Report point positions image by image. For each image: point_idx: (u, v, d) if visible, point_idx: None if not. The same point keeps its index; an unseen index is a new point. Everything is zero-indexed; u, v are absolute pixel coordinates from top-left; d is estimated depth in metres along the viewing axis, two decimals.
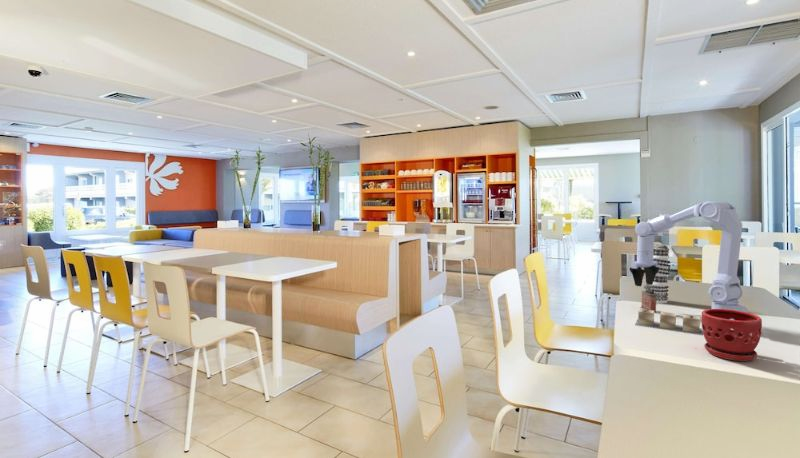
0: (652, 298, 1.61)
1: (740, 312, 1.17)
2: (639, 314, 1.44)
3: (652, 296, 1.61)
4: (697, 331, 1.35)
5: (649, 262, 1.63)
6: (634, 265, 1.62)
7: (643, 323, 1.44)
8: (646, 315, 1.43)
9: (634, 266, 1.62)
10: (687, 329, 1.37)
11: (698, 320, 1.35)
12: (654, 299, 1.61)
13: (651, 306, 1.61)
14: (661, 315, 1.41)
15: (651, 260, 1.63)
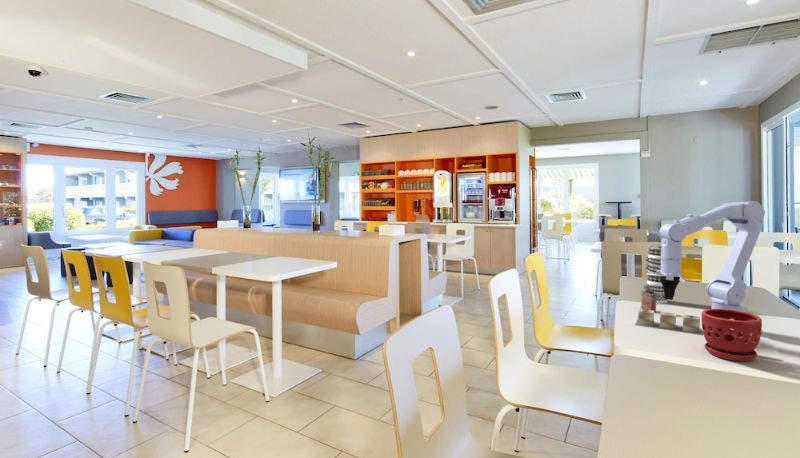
0: (652, 298, 1.61)
1: (740, 312, 1.17)
2: (639, 314, 1.44)
3: (652, 296, 1.61)
4: (697, 331, 1.35)
5: (679, 271, 1.38)
6: (670, 276, 1.34)
7: (643, 323, 1.44)
8: (646, 315, 1.43)
9: (670, 277, 1.34)
10: (687, 329, 1.37)
11: (698, 320, 1.35)
12: (654, 299, 1.61)
13: (651, 306, 1.61)
14: (661, 315, 1.41)
15: (680, 269, 1.39)
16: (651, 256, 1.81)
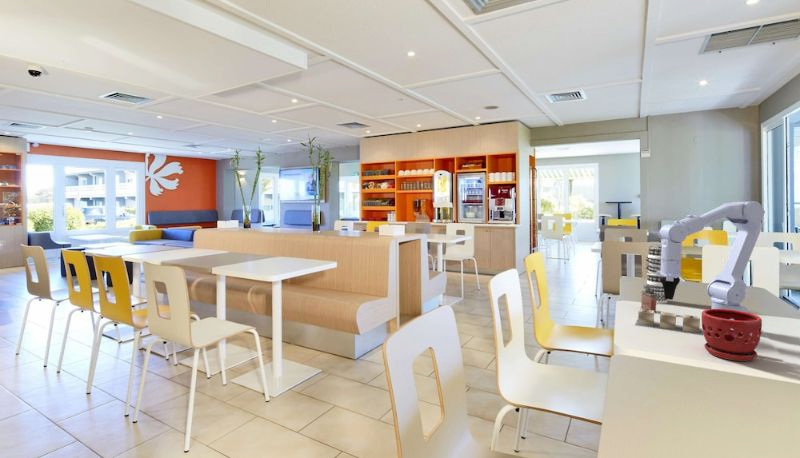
0: (652, 298, 1.61)
1: (740, 312, 1.17)
2: (639, 314, 1.44)
3: (652, 296, 1.61)
4: (697, 331, 1.35)
5: (679, 272, 1.38)
6: (670, 277, 1.34)
7: (643, 323, 1.44)
8: (646, 315, 1.43)
9: (670, 278, 1.34)
10: (687, 329, 1.37)
11: (698, 320, 1.35)
12: (654, 299, 1.61)
13: (651, 306, 1.61)
14: (661, 315, 1.41)
15: (680, 269, 1.39)
16: (651, 256, 1.81)
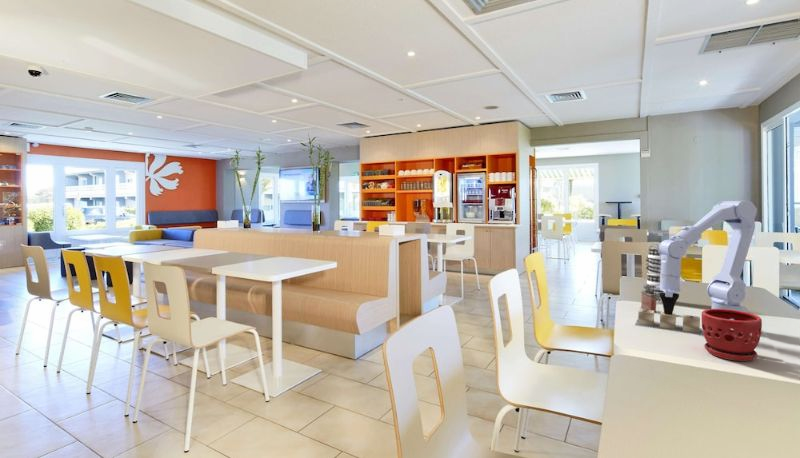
0: (652, 298, 1.61)
1: (740, 312, 1.17)
2: (639, 314, 1.44)
3: (652, 296, 1.61)
4: (697, 331, 1.35)
5: (678, 288, 1.38)
6: (669, 293, 1.35)
7: (643, 323, 1.44)
8: (646, 315, 1.43)
9: (669, 294, 1.35)
10: (687, 329, 1.37)
11: (698, 320, 1.35)
12: (654, 299, 1.61)
13: (651, 306, 1.61)
14: (661, 315, 1.41)
15: (679, 285, 1.39)
16: (651, 256, 1.81)
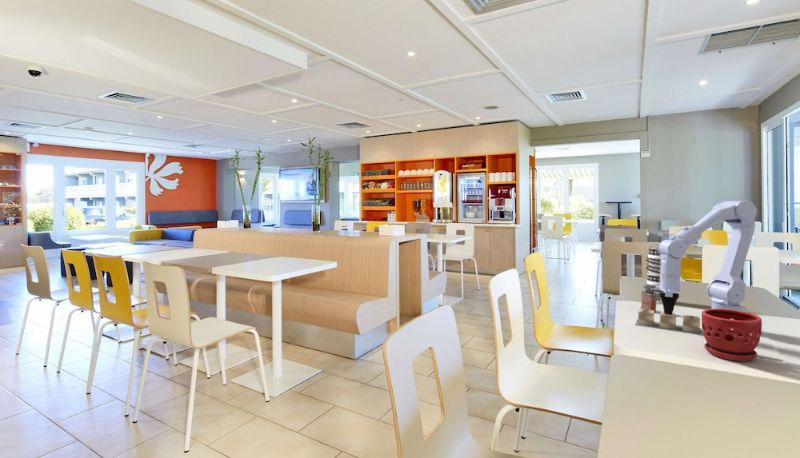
0: (652, 298, 1.61)
1: (740, 312, 1.17)
2: (639, 314, 1.44)
3: (652, 296, 1.61)
4: (697, 331, 1.35)
5: (678, 288, 1.38)
6: (669, 293, 1.35)
7: (643, 323, 1.44)
8: (646, 315, 1.43)
9: (669, 294, 1.35)
10: (687, 329, 1.37)
11: (698, 320, 1.35)
12: (654, 299, 1.61)
13: (651, 306, 1.61)
14: (661, 315, 1.41)
15: (679, 285, 1.39)
16: (651, 256, 1.81)
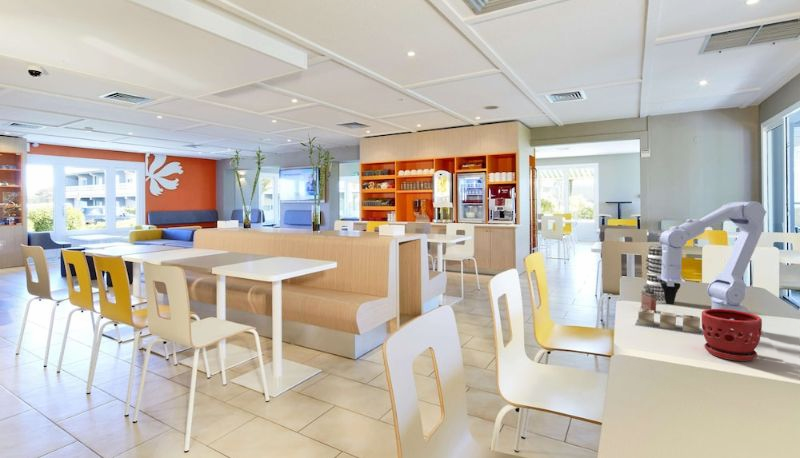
0: (652, 298, 1.61)
1: (740, 312, 1.17)
2: (639, 314, 1.44)
3: (652, 296, 1.61)
4: (697, 331, 1.35)
5: (679, 277, 1.39)
6: (671, 282, 1.36)
7: (643, 323, 1.44)
8: (646, 315, 1.43)
9: (671, 284, 1.36)
10: (687, 329, 1.37)
11: (698, 320, 1.35)
12: (654, 299, 1.61)
13: (651, 306, 1.61)
14: (661, 315, 1.41)
15: (680, 275, 1.40)
16: (651, 256, 1.81)
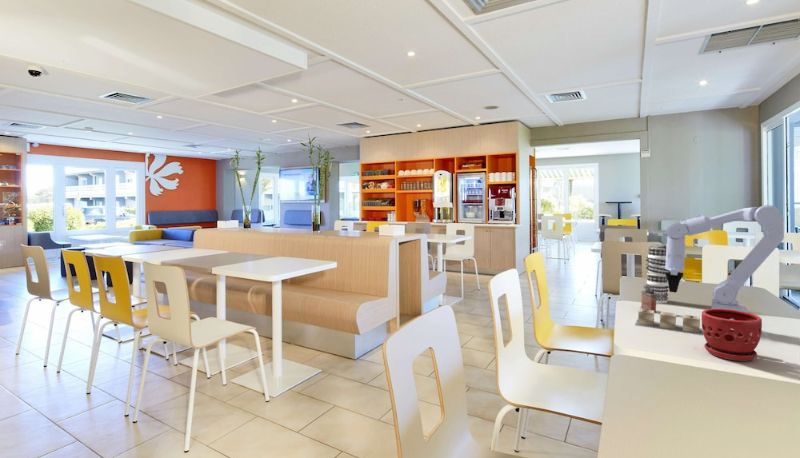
0: (652, 298, 1.61)
1: (740, 312, 1.17)
2: (639, 314, 1.44)
3: (652, 296, 1.61)
4: (697, 331, 1.35)
5: (682, 267, 1.48)
6: (674, 271, 1.45)
7: (643, 323, 1.44)
8: (646, 315, 1.43)
9: (674, 272, 1.45)
10: (687, 329, 1.37)
11: (698, 320, 1.35)
12: (654, 299, 1.61)
13: (651, 306, 1.61)
14: (661, 315, 1.41)
15: (683, 264, 1.49)
16: (651, 256, 1.81)
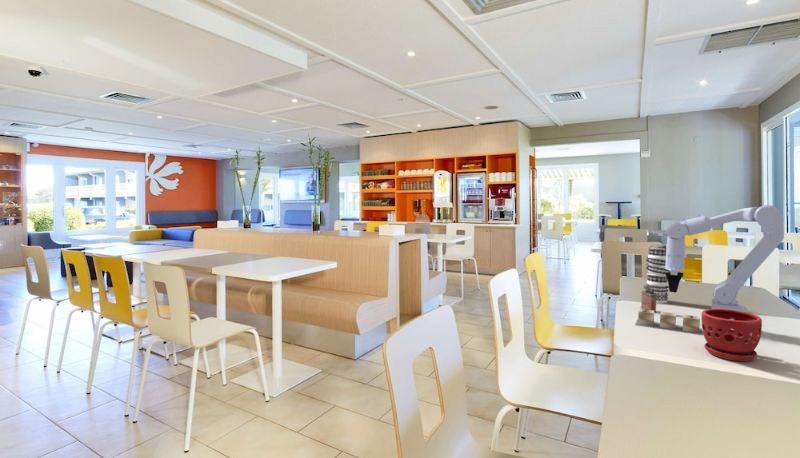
0: (652, 298, 1.61)
1: (740, 312, 1.17)
2: (639, 314, 1.44)
3: (652, 296, 1.61)
4: (697, 331, 1.35)
5: (682, 267, 1.48)
6: (674, 271, 1.45)
7: (643, 323, 1.44)
8: (646, 315, 1.43)
9: (674, 272, 1.45)
10: (687, 329, 1.37)
11: (698, 320, 1.35)
12: (654, 299, 1.61)
13: (651, 306, 1.61)
14: (661, 315, 1.41)
15: (683, 264, 1.49)
16: (651, 256, 1.81)
